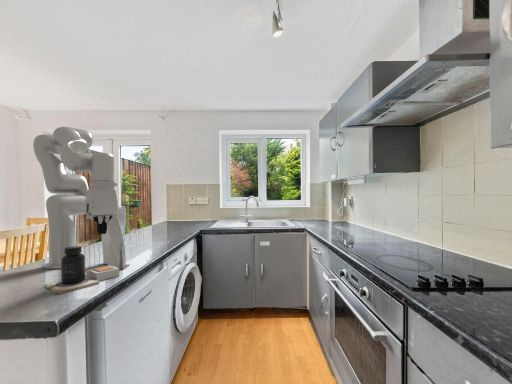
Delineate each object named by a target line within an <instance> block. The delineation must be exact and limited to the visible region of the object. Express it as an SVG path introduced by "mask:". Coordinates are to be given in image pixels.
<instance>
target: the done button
mask: <svg viewBox="0 0 512 384" xmlns="http://www.w3.org/2000/svg"><path fill="white" fill-rule="evenodd" d="M103 266H104V267H103ZM103 266H99V268H98V267H94V268H95V269H93V268H92V269H93V271H96V272H102V271H106V270H111V269H113V268H112V267H109V266H107V265H103Z"/></svg>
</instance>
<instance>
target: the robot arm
mask: <svg viewBox="0 0 512 384" xmlns="http://www.w3.org/2000/svg"><path fill="white" fill-rule="evenodd" d="M93 142H94V140H93V136H92V134H91V133H90V132H89V131H87V130H85V129H80V128H74V127H70V126H59V127H56V128H55V129H54V130H53V133H52V134H45V133H44V134H39V135H36V136H35V137H34V139H33V145H32V146H33V147H32V148H33V151H34V155H35V157H36V159H37V161H38V163H39V165H40V167H41V170H42V174H43V179H44V182H45V183H44V185H45V187H46V190H47V192H49V193H51V194H53V195H51V196H49V197H48V198H47V199H46V200H45V207H46V213H47V218H48V219H47V220H48V262H47V263H45V264H44V269H48V270H57V269H61V259H62V257H63V256H65V254H64V252H65V248H67V247H72V246H76V224H75V222H74V220H72V218H71V217H70V216H79V215H86V219H87V220H93V221H94V222H95V223H96V232H97V234H99V235H102V234H106V231H107V223H108V222H109V221H110V220H111V218H115V217H117V211H118V206H119V205H118V197H117V196H118V195H117V191H116V190H117V189H115V187H118V183H117V182H115V157H114V156H115V155H113V154H111V153H108V152H95V153H90V152H87V151H88V150H89V149H90V148H91V147H92V145H93ZM56 155H60V156H59V157H60V158H59V157H58V156H56ZM66 169H68V170H70V171H71V172H77V173H68V172H67V170H66ZM79 173H90V174H91V175H90V180H91V181H90V188H89V185H88V180H87V179H86V177H85V176H83V175H82V174H79Z"/></svg>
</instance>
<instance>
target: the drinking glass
mask: <svg viewBox="0 0 512 384" xmlns="http://www.w3.org/2000/svg"><path fill="white" fill-rule="evenodd" d="M109 241H110V240H109V236H108V230H107V231H106V234H101V246H102V247H101V248H102V257H103V260H102V261H103V262H102V263H103V265H108V251H109Z"/></svg>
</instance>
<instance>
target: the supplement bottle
mask: <svg viewBox="0 0 512 384" xmlns="http://www.w3.org/2000/svg"><path fill="white" fill-rule="evenodd" d="M64 254H65V256H63V257H62V259H61V268H60V276H61V277H60V279H61V280H60V281H61V283H62V284H64V285H69V284H76V283H80V282H82V281H84V280H85V276H86V257H85V256H86V255H84V254H83V253H82V246H80V245H78V246H77V245H75V246H72V247H67V248H65V252H64Z"/></svg>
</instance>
